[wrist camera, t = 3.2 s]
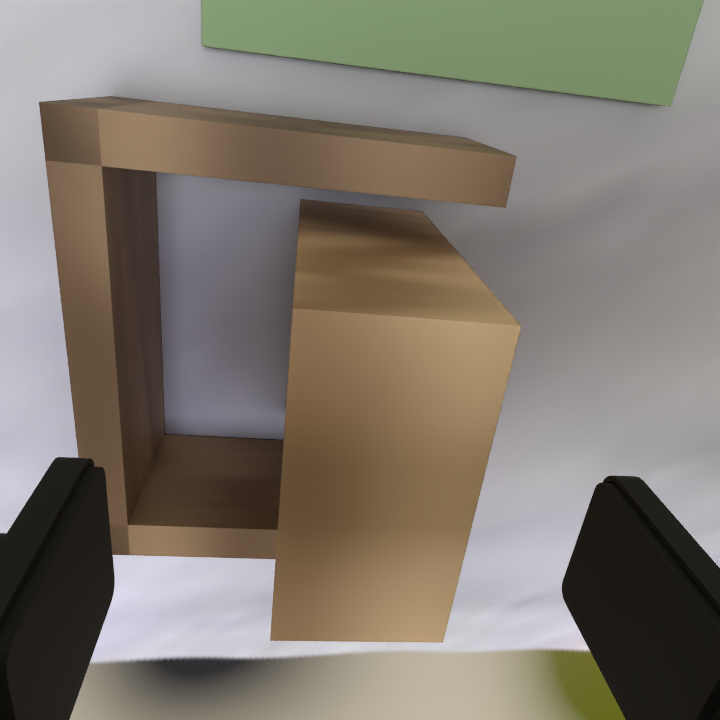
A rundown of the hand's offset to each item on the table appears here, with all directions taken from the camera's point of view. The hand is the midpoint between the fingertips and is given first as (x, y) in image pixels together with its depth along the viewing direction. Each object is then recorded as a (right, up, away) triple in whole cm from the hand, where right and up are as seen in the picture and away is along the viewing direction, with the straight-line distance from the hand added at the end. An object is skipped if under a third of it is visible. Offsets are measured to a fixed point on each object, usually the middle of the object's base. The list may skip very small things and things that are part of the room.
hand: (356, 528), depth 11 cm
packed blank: (0, +5, +10) cm, 11 cm away
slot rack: (-3, +5, +9) cm, 11 cm away
